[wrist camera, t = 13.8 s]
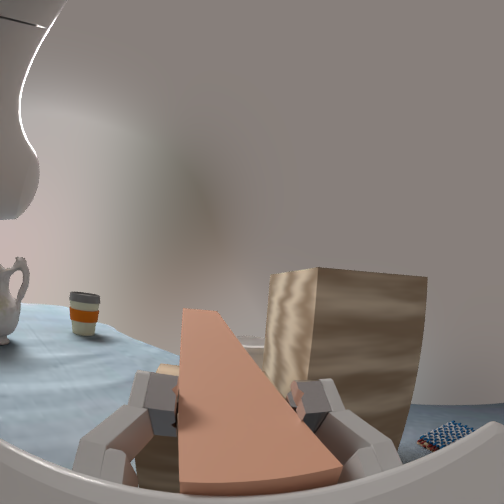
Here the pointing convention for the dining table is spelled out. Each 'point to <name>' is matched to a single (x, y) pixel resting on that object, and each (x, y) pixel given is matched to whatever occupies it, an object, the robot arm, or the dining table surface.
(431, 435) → the woven mat
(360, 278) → the stand
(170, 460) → the base block
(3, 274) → the ceramic pitcher
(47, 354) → the dining table surface
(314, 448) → the rod
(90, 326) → the reusable coffee cup
